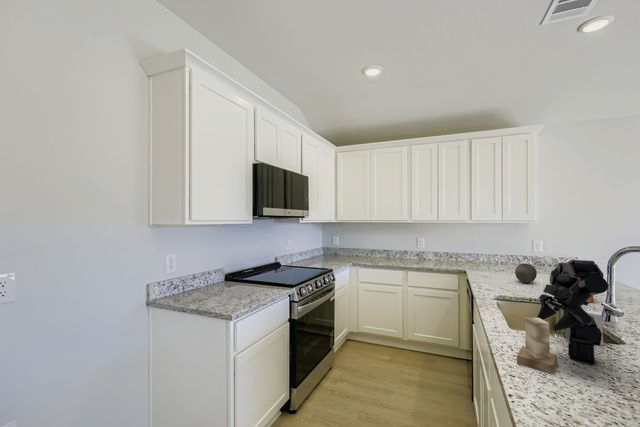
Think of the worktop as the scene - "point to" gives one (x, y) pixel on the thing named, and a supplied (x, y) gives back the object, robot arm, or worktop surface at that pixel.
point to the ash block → (537, 338)
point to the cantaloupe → (525, 273)
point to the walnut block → (537, 361)
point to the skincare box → (597, 321)
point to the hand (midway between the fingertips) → (545, 324)
